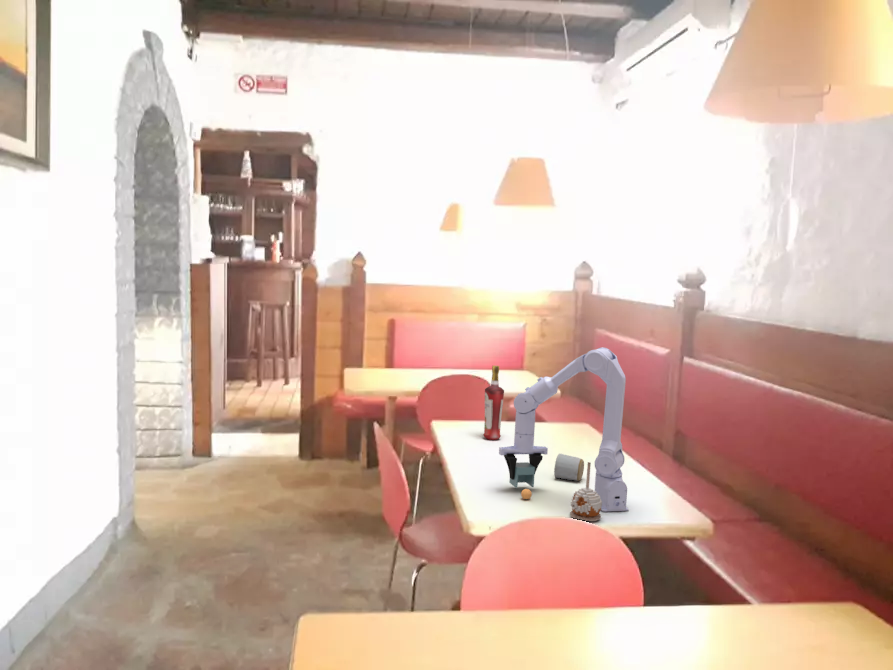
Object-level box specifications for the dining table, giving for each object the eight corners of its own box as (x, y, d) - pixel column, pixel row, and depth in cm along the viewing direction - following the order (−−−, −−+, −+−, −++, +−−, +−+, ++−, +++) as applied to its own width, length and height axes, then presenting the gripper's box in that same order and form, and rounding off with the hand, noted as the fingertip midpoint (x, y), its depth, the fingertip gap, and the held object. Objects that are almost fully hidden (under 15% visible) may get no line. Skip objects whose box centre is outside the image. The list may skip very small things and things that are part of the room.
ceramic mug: (579, 484, 230) (581, 459, 230) (553, 480, 233) (554, 455, 232) (585, 476, 240) (587, 452, 239) (560, 472, 243) (562, 449, 242)
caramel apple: (564, 514, 201) (568, 459, 199) (589, 512, 203) (593, 458, 202) (580, 524, 193) (584, 467, 192) (606, 521, 196) (610, 465, 195)
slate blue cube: (533, 487, 219) (534, 467, 218) (516, 488, 217) (517, 467, 217) (526, 481, 224) (527, 462, 224) (509, 482, 223) (510, 462, 222)
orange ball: (533, 500, 211) (533, 490, 211) (523, 501, 210) (523, 490, 210) (529, 497, 214) (529, 487, 214) (519, 497, 213) (519, 487, 213)
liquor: (479, 436, 288) (483, 364, 286) (497, 436, 291) (501, 364, 288) (486, 441, 281) (490, 367, 279) (504, 440, 284) (508, 367, 281)
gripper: (542, 429, 225) (539, 473, 227) (496, 430, 221) (494, 475, 223) (551, 434, 219) (548, 480, 220) (504, 435, 215) (502, 482, 216)
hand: (521, 478), depth 221 cm, fingers closed on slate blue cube, 5 cm apart
